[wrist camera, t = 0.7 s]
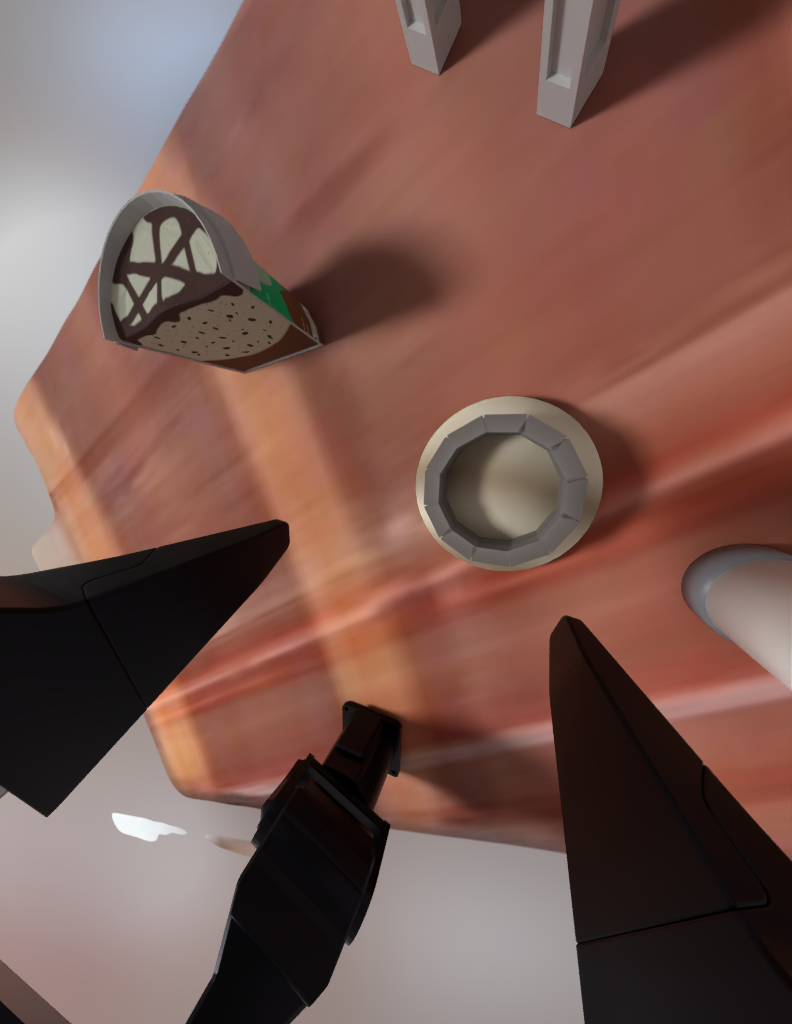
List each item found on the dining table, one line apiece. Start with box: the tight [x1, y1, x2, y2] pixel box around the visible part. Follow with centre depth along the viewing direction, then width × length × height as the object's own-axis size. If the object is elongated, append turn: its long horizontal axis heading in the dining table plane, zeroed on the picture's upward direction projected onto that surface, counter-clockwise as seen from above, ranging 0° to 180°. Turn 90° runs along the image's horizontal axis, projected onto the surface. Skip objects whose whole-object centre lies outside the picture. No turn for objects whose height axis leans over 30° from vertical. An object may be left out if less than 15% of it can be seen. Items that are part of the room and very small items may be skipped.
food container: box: [98, 190, 324, 374], centre depth 21 cm, size 12×6×10 cm, turn 98°
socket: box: [416, 396, 603, 571], centre depth 19 cm, size 12×12×4 cm
